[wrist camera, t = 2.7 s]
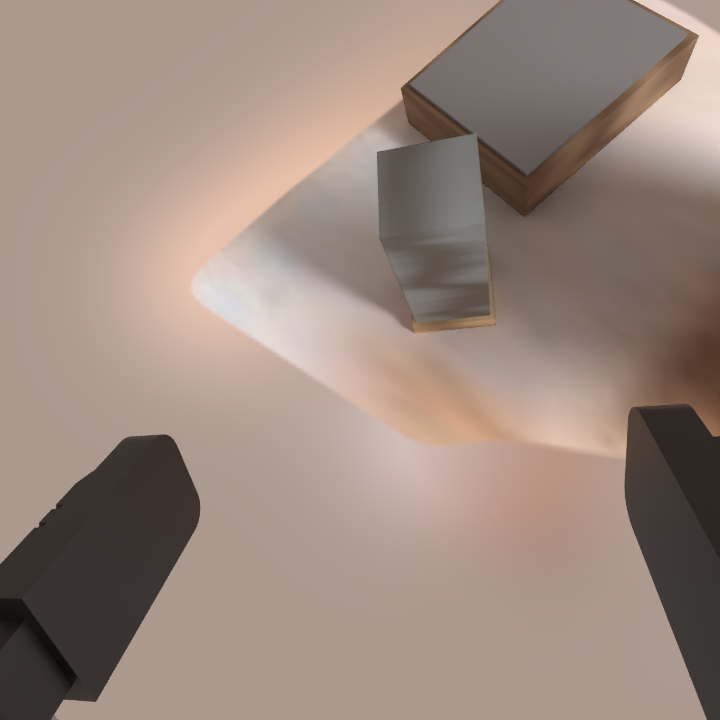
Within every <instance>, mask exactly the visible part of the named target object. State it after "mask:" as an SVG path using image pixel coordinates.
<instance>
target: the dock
mask: <svg viewBox="0 0 720 720" xmlns="http://www.w3.org/2000/svg"><path fill="white" fill-rule="evenodd" d="M698 37H699V35H697V34H695V33H693V32H692V31H690V30H688V29H686V28H684V27H682V26H680V25H679V24H677V23H675V22H673V21H671V20H669V19H667V18H665V17H664V16H662V15H660V14H658V13H656V12H654V11H652V10H650V9H649V8H647V7H645V6H643V5H641V4H639V3H637V2H636V1H634V0H500V1H499V2H498V3H497V4H496V5H495V6H494V7H493V8H491V9H490V10H489V11H488V12H487V13H486V14H485V15H483V16H482V17H481V18H480V19H479V20H478V21H477V22H475V23H474V24H473V25H472V26H471V27H470V28H469V29H467V30H466V31H465V32H464V33H463V34H462V35H461V36H459V37H458V38H457V39H456V40H455V41H454V42H453V43H451V44H450V45H449V46H448V47H447V48H446V49H445V50H444V51H442V52H441V53H440V54H439V55H438V56H437V57H436V58H434V59H433V60H432V61H431V62H430V63H429V64H428V65H426V66H425V67H424V68H423V69H422V70H421V71H420V72H418V73H417V74H416V75H415V76H414V77H413V78H412V79H411V80H410V81H408V82H407V83H406V84H405V85H404V86H403V87H402V88H401V91H402V95H403V100H404V104H405V108H406V113H407V117H408V121H409V123H410V124H411V125H412V126H413V127H415V128H416V129H417V130H418V131H420V132H421V133H422V134H423V135H424V136H426V137H427V138H428V139H429V140H431V141H432V142H433V141H438V140H443V139H448V138H454V137H459V136H464V135H470V134H475V133H477V142H478V152H479V162H480V172H481V182H482V183H484V184H485V185H486V186H487V187H489V188H490V189H491V190H492V191H494V192H495V193H496V194H497V195H498V196H500V197H501V198H502V199H503V200H505V201H506V202H507V203H508V204H510V205H511V206H512V207H513V208H514V209H516V210H517V211H518V212H519V213H521V214H522V215H523V216H524V217H525V216H526V215H527V214H528V213H529V212H530V211H532V210H533V209H534V208H535V207H536V206H537V205H538V204H540V203H541V202H542V201H543V200H544V199H545V198H546V197H548V196H549V195H550V194H551V193H552V192H553V191H554V190H556V189H557V188H558V187H559V186H560V185H561V184H562V183H564V182H565V181H566V180H567V179H568V178H569V177H570V176H572V175H573V174H574V173H575V172H576V171H577V170H578V169H580V168H581V167H582V166H583V165H584V164H585V163H586V162H587V161H589V160H590V159H591V158H592V157H593V156H594V155H595V154H597V153H598V152H599V151H600V150H601V149H602V148H603V147H605V146H606V145H607V144H608V143H609V142H610V141H611V140H613V139H614V138H615V137H616V136H617V135H618V134H619V133H621V132H622V131H623V130H624V129H625V128H626V127H627V126H629V125H630V124H631V123H632V122H633V121H634V120H635V119H637V118H638V117H639V116H640V115H641V114H642V113H643V112H645V111H646V110H647V109H648V108H649V107H650V106H651V105H652V104H654V103H655V102H656V101H657V100H658V99H659V98H660V97H662V96H663V95H664V94H665V93H666V92H667V91H668V90H670V89H671V88H672V87H673V86H674V85H675V84H676V83H678V82H679V81H680V80H681V78H682V76H683V73H684V71H685V68H686V66H687V63H688V61H689V59H690V56H691V54H692V51H693V49H694V46H695V44H696V42H697V39H698Z"/></svg>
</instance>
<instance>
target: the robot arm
mask: <svg viewBox="0 0 720 720" xmlns="http://www.w3.org/2000/svg"><path fill="white" fill-rule="evenodd" d="M625 498H626V505H627V511H628V515H629V519H630V522H631V525H632V528H633V530H634V533H635V536H636V538H637V541H638V543H639V546H640V548H641V551H642V554H643V556H644V559H645V561H646V564H647V566H648V569H649V572H650V574H651V577H652V579H653V582H654V584H655V587H656V590H657V592H658V594H659V597H660V600H661V603H662V605H663V607H664V610H665V613H666V615H667V618H668V621H669V623H670V626H671V628H672V631H673V633H674V636H675V638H676V641H677V643H678V646H679V649H680V651H681V654H682V657H683V659H684V661H685V664H686V667H687V669H688V672H689V675H690V677H691V679H692V682H693V685H694V687H695V690H696V693H697V695H698V698H699V700H700V703H701V705H702V708H703V710H704V713H705V716H706V718H707V720H720V436H719V437H713V436H712V435H711V433H710V432H709V430H708V429H707V428H706V426H705V425H704V423H703V422H702V421H701V419H700V418H699V416H698V415H697V414H696V412H695V411H694V409H693V408H692V407H691V406H690V405H688V404H678V405H662V406H645V407H633V408H631V410H630V413H629V418H628V433H627V450H626V470H625ZM199 516H200V500H199V496H198V493H197V491H196V489H195V486H194V484H193V482H192V479H191V477H190V475H189V472H188V470H187V468H186V466H185V463H184V461H183V458H182V456H181V454H180V451H179V449H178V447H177V445H176V443H175V441H174V440H173V439H172V438H171V437H170V436H168V435H149V436H133V437H127V438H125V439H124V440H122V441H121V442H120V443H119V444H118V446H117V447H116V448H115V449H114V450H113V451H112V452H111V453H110V454H109V455H108V456H107V458H106V459H105V460H104V461H103V462H102V463H101V464H100V465H99V466H98V467H97V468H96V469H95V470H94V471H93V472H91V473H90V474H88V475H87V476H86V477H84V478H83V479H81V480H80V481H79V482H77V483H76V484H75V485H74V486H73V487H72V488H71V489H70V490H69V491H68V493H67V494H66V495H65V496H64V497H63V498H62V499H61V500H60V501H59V502H58V503H57V504H56V509H52V510H51V511H50V512H49V513H48V514H47V515H46V516H45V517H44V518H43V519H42V520H41V521H40V523H39V527H38V528H34V529H33V530H32V531H31V532H30V533H29V534H28V535H27V537H25V538H24V540H23V541H22V542H21V543H20V544H19V545H18V546H17V547H16V548H15V549H14V550H13V552H11V554H9V556H8V557H7V558H6V559H5V560H4V561H3V562H2V563H1V564H0V720H58V719H57V718H56V717H55V716H54V714H55V712H56V711H57V709H58V707H59V706H60V704H61V703H62V701H63V699H65V700H78V701H91V702H96V701H97V699H98V697H99V695H100V694H101V692H102V690H103V689H104V687H105V685H106V683H107V682H108V680H109V678H110V676H111V674H112V673H113V671H114V669H115V668H116V666H117V664H118V663H119V661H120V659H121V657H122V655H123V654H124V652H125V650H126V649H127V647H128V645H129V644H130V642H131V640H132V638H133V637H134V635H135V633H136V631H137V630H138V628H139V626H140V624H141V623H142V621H143V619H144V617H145V616H146V614H147V612H148V610H149V609H150V607H151V605H152V604H153V602H154V600H155V598H156V597H157V595H158V593H159V591H160V590H161V588H162V586H163V585H164V583H165V581H166V579H167V578H168V576H169V574H170V572H171V571H172V569H173V567H174V566H175V564H176V562H177V560H178V558H179V557H180V555H181V553H182V552H183V550H184V548H185V546H186V545H187V543H188V541H189V540H190V538H191V536H192V534H193V533H194V531H195V529H196V527H197V524H198V521H199Z"/></svg>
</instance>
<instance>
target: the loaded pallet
mask: <svg viewBox="0 0 720 720" xmlns="http://www.w3.org/2000/svg"><path fill="white" fill-rule="evenodd" d="M377 166H378V197H379V228H380V240H381V242H382V245H383V247H384V249H385V251H386V254H387V256H388V258H389V261H390V263H391V265H392V268H393V270H394V272H395V275H396V277H397V279H398V282H399V284H400V286H401V288H402V291H403V293H404V295H405V298H406V300H407V302H408V305H409V307H410V309H411V312H412V328H413V330H414V332H415V333H423V332H432V331H442V330H452V329H461V328H471V327H481V326H490V325H495V311H494V301H493V292H492V282H491V272H490V262H489V252H488V245H487V240H486V221H485V211H484V202H483V192H482V182H481V172H480V162H479V152H478V142H477V133H475V134H470V135H464V136H459V137H454V138H448V139H443V140H438V141H433V142H427V143H422V144H417V145H412V146H406V147H401V148H396V149H391V150H385V151H380V152H377Z"/></svg>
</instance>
